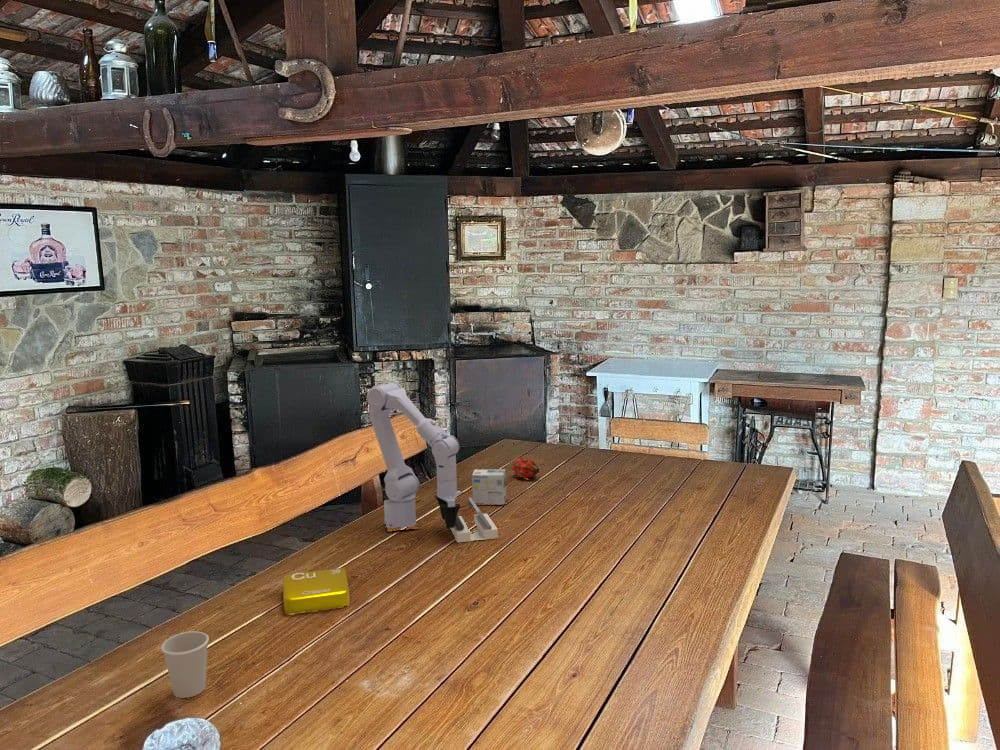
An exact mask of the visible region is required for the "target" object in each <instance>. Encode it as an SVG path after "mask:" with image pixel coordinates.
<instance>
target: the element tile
mask: <svg viewBox="0 0 1000 750" xmlns="http://www.w3.org/2000/svg"><path fill="white" fill-rule="evenodd" d="M350 599H351V598H350V587H349V581H348V575H347V571H346V569H344V568H343V567H337V568H331V569H330V568H329V569H323V570H322V569H321V570H313V571H304V572H296V573H289V574H287V575H285V576H284V577H283V609H284V611H285V612H286V613H297V612H303V611H311V610H320V609H329V608H339V607H344V606H346V605H348V604H349V603H351V602H350ZM349 605H350V604H349ZM285 612H284V613H285Z"/></svg>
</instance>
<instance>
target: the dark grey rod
mask: <svg viewBox="0 0 1000 750" xmlns="http://www.w3.org/2000/svg"><path fill="white" fill-rule="evenodd" d="M458 516H459V514H457V516H456V521H455V525H456V527H457V529H458V530H459V531H462V530H463V529H464V526H463V524H462V522H461V520H460V518H459V517H458Z"/></svg>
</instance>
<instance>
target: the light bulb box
mask: <svg viewBox="0 0 1000 750" xmlns="http://www.w3.org/2000/svg"><path fill="white" fill-rule="evenodd" d="M471 474H472V475H471V480H472V481H471V484H472V485H471V487H472V488H471V489H472V500H473V501H474V503H484V504H505V505H506V502H507V481H506V479H507V478H506V469H505V468H504V469H503V468H502V469H478V468H477V469H476V468H475V469H474V471H473V472H472V473H471ZM505 501H506V502H505Z"/></svg>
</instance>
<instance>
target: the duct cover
mask: <svg viewBox="0 0 1000 750" xmlns="http://www.w3.org/2000/svg"><path fill="white" fill-rule="evenodd" d="M468 500H469V502H470V503H471V505H472V506H473V508H474V510H475V511H476V513H477V514H479V515H480V517H481V518H482V520H483V521H484V522H485V524H486V525H487V527H488V528H489V529H491V528H492V527H491V525H490V524H489V522H488V521H487V519H486V518H485V516H484V515H483V514H484V513H483V512H482V511H481V509H480V508H479V506H477V505H476V504H475V503H474V501H473V497H471V496H470V497H469V498H468Z"/></svg>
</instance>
